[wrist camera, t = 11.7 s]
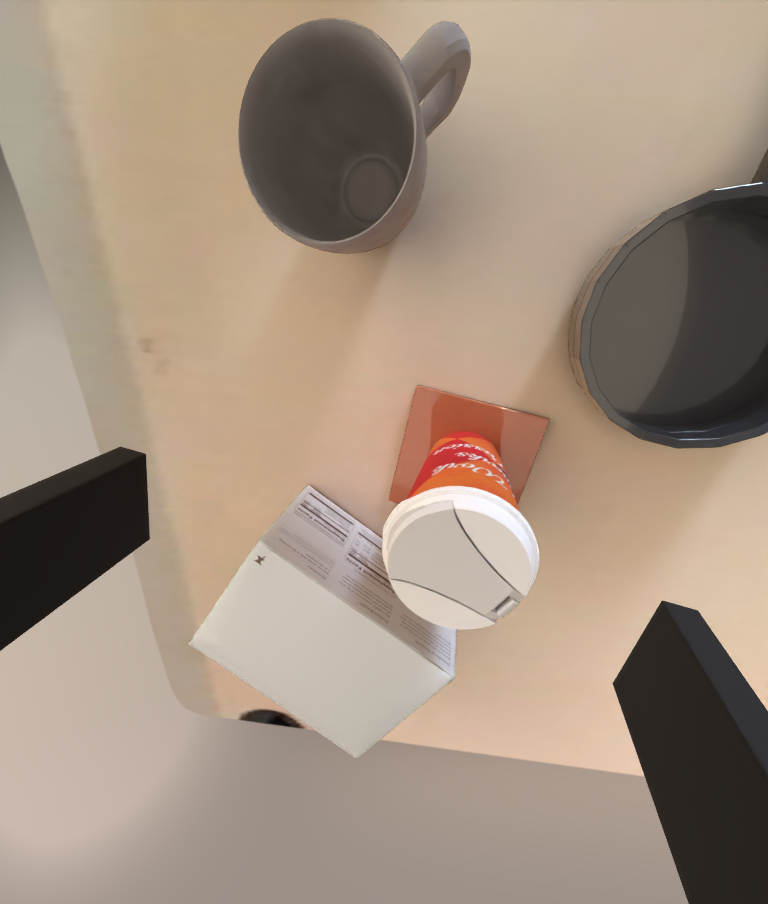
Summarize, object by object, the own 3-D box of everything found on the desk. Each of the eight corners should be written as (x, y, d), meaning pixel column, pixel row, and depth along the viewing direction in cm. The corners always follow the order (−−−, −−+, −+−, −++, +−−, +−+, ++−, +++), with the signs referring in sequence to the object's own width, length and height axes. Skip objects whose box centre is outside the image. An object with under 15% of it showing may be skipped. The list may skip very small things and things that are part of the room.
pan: (620, 178, 25) (642, 159, 21) (879, 227, 23) (945, 214, 20) (538, 403, 30) (545, 415, 27) (744, 455, 28) (778, 474, 25)
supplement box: (244, 573, 41) (183, 645, 33) (308, 481, 36) (256, 537, 27) (379, 670, 42) (355, 765, 33) (461, 593, 37) (457, 682, 28)
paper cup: (536, 458, 31) (582, 569, 18) (471, 526, 34) (469, 663, 21) (453, 395, 30) (438, 462, 18) (394, 469, 33) (345, 574, 21)
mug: (362, 292, 30) (315, 287, 21) (285, 184, 28) (199, 130, 20) (508, 164, 25) (526, 89, 17) (425, 31, 24) (397, -129, 15)
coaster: (417, 384, 31) (416, 386, 31) (548, 418, 30) (549, 420, 30) (389, 497, 35) (388, 500, 35) (505, 531, 34) (505, 534, 33)
